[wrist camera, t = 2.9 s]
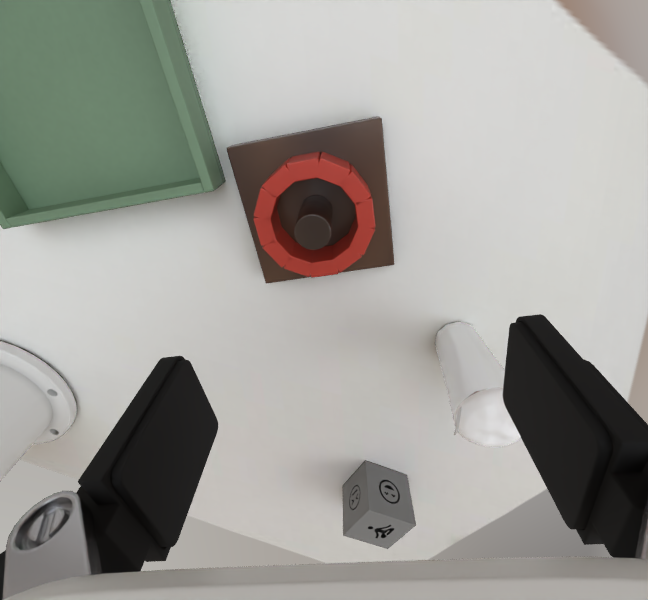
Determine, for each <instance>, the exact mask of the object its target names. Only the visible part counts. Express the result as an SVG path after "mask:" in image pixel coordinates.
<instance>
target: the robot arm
mask: <svg viewBox="0 0 648 600" xmlns="http://www.w3.org/2000/svg"><path fill="white" fill-rule="evenodd" d="M503 401H504V405H505V407H506V409H507V411H508V413H509V415H510V417H511V419H512V421H513V423H514V425H515V426H516V428H517V430H518V432H519V434H520V436H521V438H522V440H523V442H524V444H525V446H526V448H527V450H528V452H529V454H530V456H531V458H532V459H533V461H534V463H535V465H536V467H537V469H538V471H539V473H540V475H541V477H542V479H543V481H544V483H545V485H546V487H547V489H548V490H549V492H550V494H551V496H552V498H553V500H554V502H555V504H556V506H557V508H558V510H559V512H560V514H561V515H562V518H563V520H564V521H565V523H566V524H567V526H568V527H569V528H570V529H576V530H577V532H578V534H579V535H580V537H581V539H582V541H583V543H584V544H585V545H586V544H604V545H605V547H606V548H607V550H608V552H609V554H610V555H611V556H612V557H614V558H612V557H611V558H609V557H533V558H532V557H530V558H529V557H528V558H527V557H526V558H484V559H450V560H417V561H385V562H356V563H328V564H300V565H273V566H248V567H224V568H200V569H175V570H155V571H141V568H142V566H143V563H144V561H147V562H149V561H166V558H167V555H168V553H169V550H170V548H171V547H173V546H174V545H175V544H176V542H177V540H178V538H179V535H180V533H181V530H182V527H183V524H184V522H185V519H186V516H187V513H188V511H189V508H190V505H191V502H192V500H193V497H194V494H195V491H196V489H197V486H198V483H199V480H200V478H201V475H202V472H203V469H204V467H205V464H206V461H207V458H208V456H209V453H210V450H211V447H212V445H213V442H214V439H215V436H216V434H217V430H218V421H217V418H216V416H215V414H214V412H213V410H212V407H211V405H210V403H209V401H208V399H207V397H206V395H205V392H204V390H203V388H202V386H201V384H200V382H199V380H198V377H197V375H196V373H195V371H194V369H193V367H192V365H191V363H190V361H188V360H185V359H184V358H183V357H182V356H175V357H166V358H162V359H160V360H159V362H158V363H157V365H156V366H155V368H154V369H153V371H152V372H151V374H150V375H149V376H148V378H147V379H146V381H145V382H144V384H143V385H142V387H141V388H140V390H139V391H138V393H137V394H136V396H135V397H134V399H133V400H132V402H131V403H130V405H129V406H128V408H127V409H126V411H125V412H124V414H123V415H122V417H121V418H120V420H119V421H118V423H117V424H116V426H115V427H114V429H113V430H112V431H111V433H110V434H109V436H108V437H107V439H106V440H105V442H104V443H103V445H102V446H101V448H100V449H99V451H98V452H97V454H96V455H95V457H94V458H93V460H92V461H91V463H90V464H89V466H88V467H87V469H86V470H85V472H84V473H83V475H82V476H81V478H80V479H79V481H78V483H79V484H80V485H81V487H80V488H79V490H78V491H77V493H74V492H73V491H62V492H58V493H54V494H53V495H51V496H48V497H46V498H44V499H43V500H42V501H40V502H38V503H37V504H36V505H34V506H33V507H32V508H31V509H30V510H29V511H28V512H26V513H25V514H24V515H23V516H22V517H21V519H20V520H19V521H18V522H17V523H16V525H15V526H14V528H13V530H12V531H11V533H10V535H9V537H8V541H7V545H6V550H5V551H4V552H3V553H1V554H0V600H648V425H647V423H646V422H645V421H644V420H643V419H642V418H641V417H640V416H639V415H638V414H637V412H636V411H635V410H634V409H633V408H632V407H631V406H630V405H629V404H628V403H627V402H626V400H625V399H624V398H623V397H622V396H621V395H620V394H619V393H618V392H617V391H616V389H615V388H614V387H613V386H612V385H611V384H610V383H609V382H608V381H607V380H606V379H605V377H604V376H603V375H602V374H601V373H600V372H599V371H598V370H597V369H596V368H595V366H594V365H592V364H591V363H590V362H589V361H586V360H583V359H582V358H581V356H580V355H579V354H578V353H577V352H576V351H575V350H574V349H573V348H572V346H571V345H570V344H569V343H568V342H567V341H566V340H565V339H564V337H563V336H562V335H561V334H560V333H559V332H558V331H557V330H556V329H555V327H554V326H553V325H552V324H551V323H550V322H549V321H548V320H547V318H546V317H545V316H543V315H532V316H523V317H518V318H517V320H516V323H511V325H510V328H509V338H508V347H507V357H506V366H505V375H504V385H503ZM76 412H77V408H76V401H75V399H74V396H73V394H72V391H71V390H70V388H69V387H68V385H67V384H66V382H65V381H64V380H63V379H62V378H61V377H60V375H59V374H58V373H57V372H56V371H55V370H53V369H52V368H51V367H50V366H49V365H47V364H46V363H45V362H43V361H42V360H40V359H39V358H37V357H36V356H34V355H33V354H31V353H29V352H27V351H25V350H23V349H21V348H19V347H16V346H13V345H11V344H8V343H5V342H2V341H0V481H1V480H2V479H3V478H4V477H5V476H6V474H7V473H8V472H9V471H10V470H11V469H12V467H13V466H14V465H15V464H16V463H17V462H18V460H19V459H20V458H21V457H22V456H23V455H24V454H25V452H26V451H27V450H28V449H29V448H30V447H31V446H32V444H41V443H47V442H50V441H53V440H56V439H58V438H59V437H61V436H62V435H63V434H65V432H66V431H67V430H68V429H69V428H70V426H71V425H72V424H73V422H74V420H75V418H76Z"/></svg>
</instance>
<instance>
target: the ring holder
mask: <svg viewBox="0 0 648 600" xmlns="http://www.w3.org/2000/svg"><path fill="white" fill-rule="evenodd" d="M227 152H228V155H229V159H230V162H231V166H232V169H233V173H234V176H235V179H236V183H237V186H238V190H239V193H240V196H241V200H242V203H243V207H244V210H245V213H246V217H247V220H248V224H249V227H250V230H251V234H252V237H253V241H254V244H255V247H256V251H257V254H258V258H259V261H260V264H261V268H262V271H263V275H264V278H265V281H266V283H272V282H279V281H286V280H293V279H300V278H306V277H307V276H304V275H301V274H298V273H295V272H293V271H290V270H287V269H284V266H283V267H281V266H280V265H279V264H278V263H277V262H276V261H275V260H274V259H273V258H272V257H271V256H270V255H269V254H268V253H267V252H266V251H265V250H264V249H263V248H262V247H263V245H261V244H260V240H259V237H258V233H257V230H256V226H255V223H254V217H255V216H254V211H255V207H256V203H257V200H258V196H259V192H260V189H261V187H262V185H263V184H264V182H265V181H266V180H267V179H268V177H269V176H270V175H271V174H272V173H274V172H275V171H276V170H277V169H278V168H279V167H280V166H281V165H282V164H283V163H284V162H285V161H286V160H287V159H288V158H290V159H291V157H293V156H298V155H303V154H308V153H313V152H320V154H321V153H322V152H325V153H327V154H330V155H333V156H335V157H338V158H340V159H343V160H345V161H348V162H349V165H350V164H352V165H353V167H354V168H355V169H356V171H357V172H358V173H359V174H360V176H361V177H362V178H363V180H364V181H365V182H366V184H367V185H368V188H369V190H370V193H371V196H372V199H373V208H374V217H375V227H374V228H375V231H374V234H373V236H372V238H371V240H370V242H369V245H368V247H367V249H366V251H365V253H364V255H362V257H361V258H360V259H358V260H357V261H356V262H354V263H353V264H352V265H350V266H349V267H347V268H346V269H345V270H343V271H342V272H347V271H354V270H361V269H368V268H375V267H382V266H389V265H394V254H393V243H392V231H391V220H390V208H389V197H388V186H387V174H386V163H385V152H384V140H383V129H382V119H381V118H380V117H374V118H369V119H363V120H358V121H353V122H348V123H343V124H338V125H333V126H328V127H323V128H318V129H313V130H307V131H302V132H297V133H292V134H287V135H282V136H277V137H272V138H267V139H262V140H257V141H251V142H246V143H241V144H236V145H232V146H230V147H228V148H227ZM277 210H278V214H279V218H280V222H281V226H282V228H283V229H284V230H285V231H286V232H287V233H288V234H289V235H290V237H291V238H292V239H293V240H294V241H295V242H297V243H299V244H300V245H301V246H302V247H304V248H307V249H311V250H316V249H320V248H322V247H325V246H331V245H334V244H335V243H337V242H338V241H339V240H341V239H342V238H343V237H345V236H346V235H347V234H348V233H349V231H350V228H351V226H352V224H353V221H354V219H355V216H356V211H355V204H354V203H353V202H352V200H351V199H350V198H349V197H348V195H347V194H346V193H345V192H344V190H343V189H342V188H341V187H340V186H338V185H335V184H333V183H330V182H327V181H325V180H322V179H319V178H314V179H308V180H302V181H297V182H294V183H293V184H292V185H290V186H289V187H288V188H287V189H286V190H285V191H284V192H283V193H282V194H281V195H280V199H279V202H278V206H277ZM338 273H341V272H339V271H338ZM309 277H311V275H310V276H309Z"/></svg>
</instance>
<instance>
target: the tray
mask: <svg viewBox="0 0 648 600" xmlns="http://www.w3.org/2000/svg"><path fill="white" fill-rule="evenodd" d="M224 182H225V178H224V175H223V171H222V168H221V165H220V162H219V158H218V155H217V152H216V149H215V145H214V142H213V139H212V136H211V132H210V129H209V126H208V123H207V119H206V116H205V113H204V110H203V106H202V103H201V100H200V97H199V94H198V90H197V87H196V84H195V81H194V77H193V74H192V71H191V68H190V64H189V61H188V58H187V55H186V51H185V48H184V45H183V42H182V38H181V35H180V32H179V29H178V25H177V22H176V19H175V16H174V12H173V9H172V6H171V3H170V0H0V225H1V227H2V228H3V229H7V228H11V227H18V226H23V225H29V224H34V223H40V222H45V221H51V220H56V219H62V218H67V217H73V216H78V215H84V214H89V213H95V212H100V211H106V210H111V209H117V208H122V207H128V206H133V205H139V204H144V203H150V202H155V201H161V200H166V199H172V198H177V197H183V196H188V195H194V194H199V193H204V192H210V191H214V190H215V189H217V188H218V187H219V186H220V185H222V184H223V183H224Z"/></svg>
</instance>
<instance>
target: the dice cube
mask: <svg viewBox="0 0 648 600" xmlns="http://www.w3.org/2000/svg"><path fill="white" fill-rule="evenodd" d="M415 526H416V522H415V517H414V511H413V505H412V500H411V494H410V489H409V483H408V478H407V475H405V474H402V473H399V472H397V471H394V470H391V469H388V468H385V467H383V466H380V465H377V464H374V463H371V462H368V461H366V460H365V462H364V463H363V464H362V465H361V466H360V467H359V468H358V469H357V471H356V472H355V473H354V474H353V475H352V476H351V477H350V478H349V480H348V481H347V482H346V483H345V484H344V485H343V536H347V537H350V538H353V539H357V540H360V541H363V542H367V543H370V544H373V545H376V546H380V547H383V548H386V549H388V548H389V547H391V546H392V545H393V544H394V543H395V542H397V541H398V540H399V539H400V538H401V537H403V536H404V535H405V534H406V533H407V532H409V531H410V530H411V529H412V528H413V527H415Z"/></svg>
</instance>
